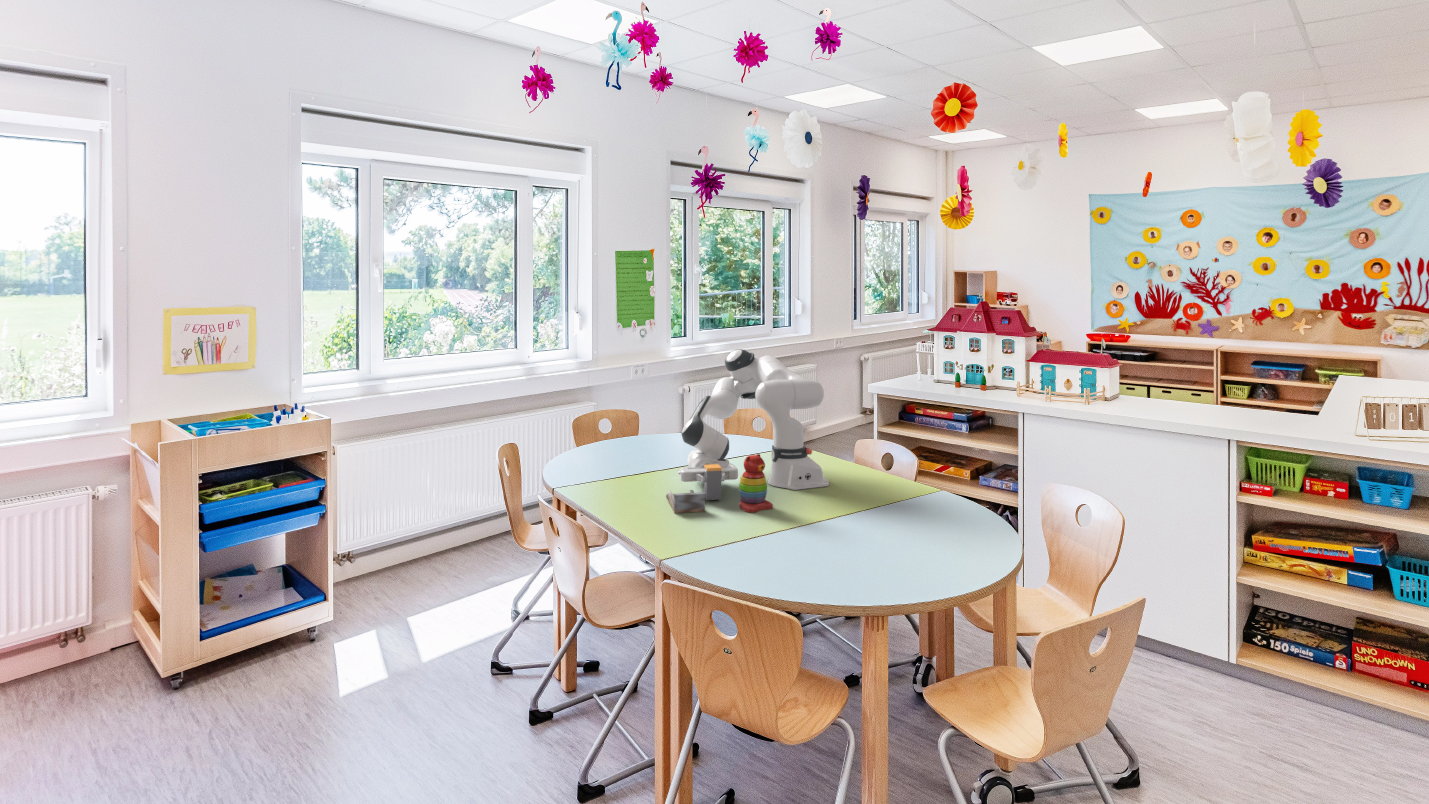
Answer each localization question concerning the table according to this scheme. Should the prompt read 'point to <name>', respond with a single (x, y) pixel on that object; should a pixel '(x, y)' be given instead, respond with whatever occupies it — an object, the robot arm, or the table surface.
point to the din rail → (687, 502)
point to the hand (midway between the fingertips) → (713, 479)
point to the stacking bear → (753, 485)
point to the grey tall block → (712, 481)
